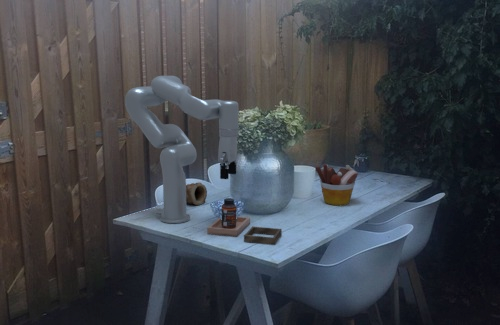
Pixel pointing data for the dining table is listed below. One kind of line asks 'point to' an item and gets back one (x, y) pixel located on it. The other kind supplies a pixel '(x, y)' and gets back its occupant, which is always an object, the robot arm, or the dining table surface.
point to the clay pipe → (196, 193)
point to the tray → (234, 232)
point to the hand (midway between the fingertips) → (228, 176)
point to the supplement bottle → (228, 213)
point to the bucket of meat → (337, 184)
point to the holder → (261, 239)
